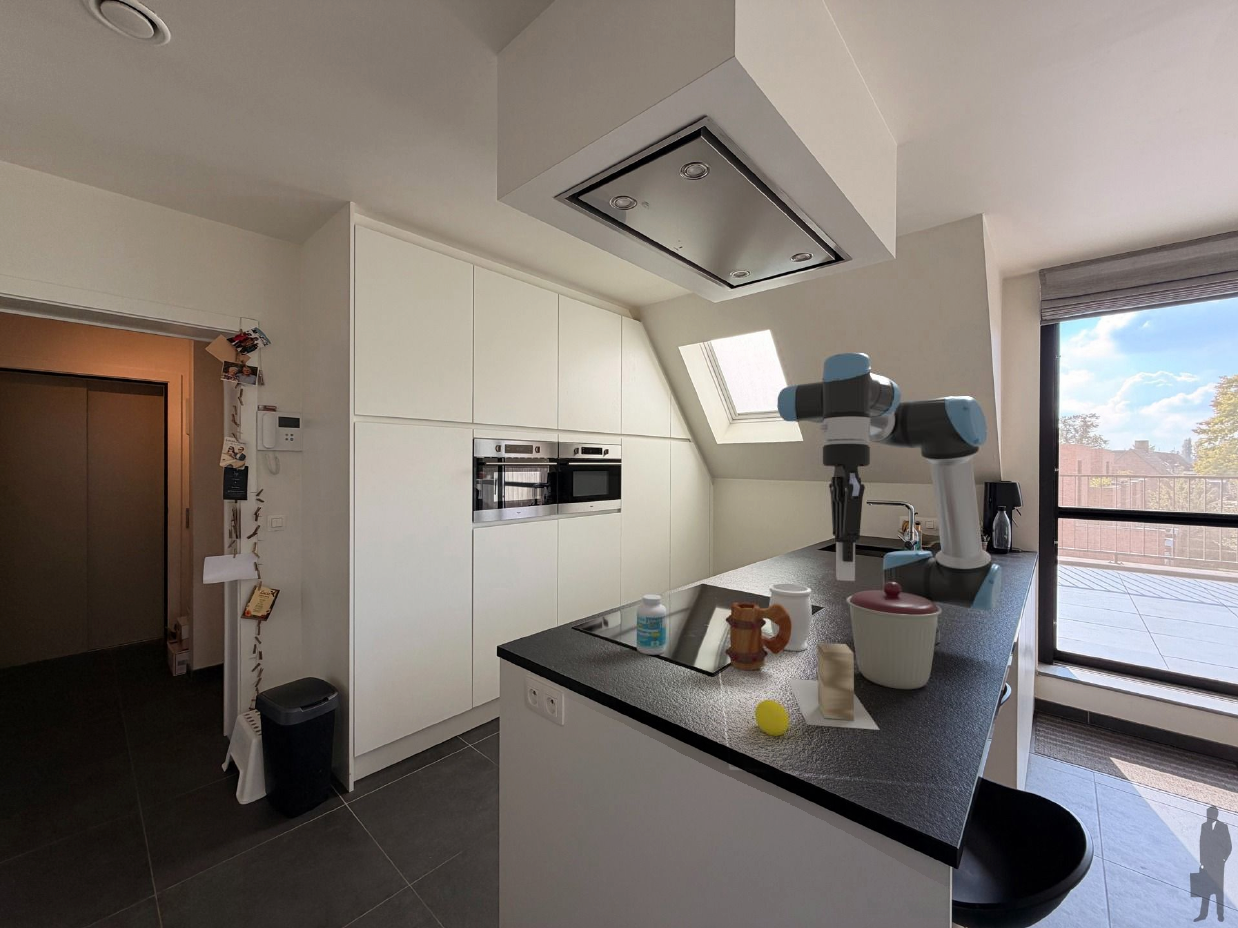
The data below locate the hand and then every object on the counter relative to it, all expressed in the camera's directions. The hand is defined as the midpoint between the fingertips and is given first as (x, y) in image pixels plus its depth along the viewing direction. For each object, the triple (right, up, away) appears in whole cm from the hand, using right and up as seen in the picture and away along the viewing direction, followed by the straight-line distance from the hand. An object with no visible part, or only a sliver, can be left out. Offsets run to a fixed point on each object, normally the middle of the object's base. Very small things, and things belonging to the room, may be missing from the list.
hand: (845, 579), depth 89 cm
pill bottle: (-31, -27, +40) cm, 57 cm away
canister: (+20, -27, +22) cm, 40 cm away
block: (+1, -26, +5) cm, 26 cm away
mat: (+1, -26, +10) cm, 28 cm away
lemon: (-13, -26, -1) cm, 29 cm away
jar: (+5, -27, +43) cm, 51 cm away
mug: (-8, -27, +28) cm, 39 cm away
